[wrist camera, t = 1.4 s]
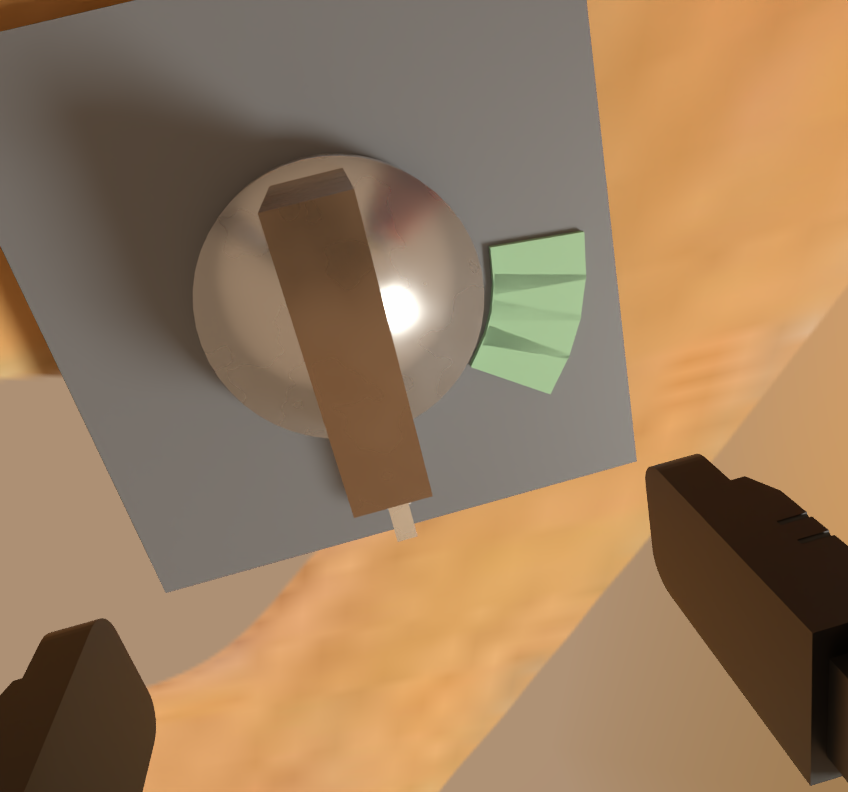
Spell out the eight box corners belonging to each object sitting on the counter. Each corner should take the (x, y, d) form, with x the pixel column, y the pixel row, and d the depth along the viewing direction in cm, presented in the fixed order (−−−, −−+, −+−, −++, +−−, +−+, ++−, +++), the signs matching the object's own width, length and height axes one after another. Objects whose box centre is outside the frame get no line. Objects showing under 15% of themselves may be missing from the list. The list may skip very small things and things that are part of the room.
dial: (155, 193, 23) (92, 232, 16) (445, 121, 24) (500, 129, 17) (285, 542, 29) (278, 677, 22) (514, 478, 30) (577, 591, 23)
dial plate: (174, 564, 31) (164, 597, 29) (-61, 56, 23) (-97, 52, 21) (618, 441, 33) (639, 464, 30) (554, -88, 24) (578, -105, 22)
